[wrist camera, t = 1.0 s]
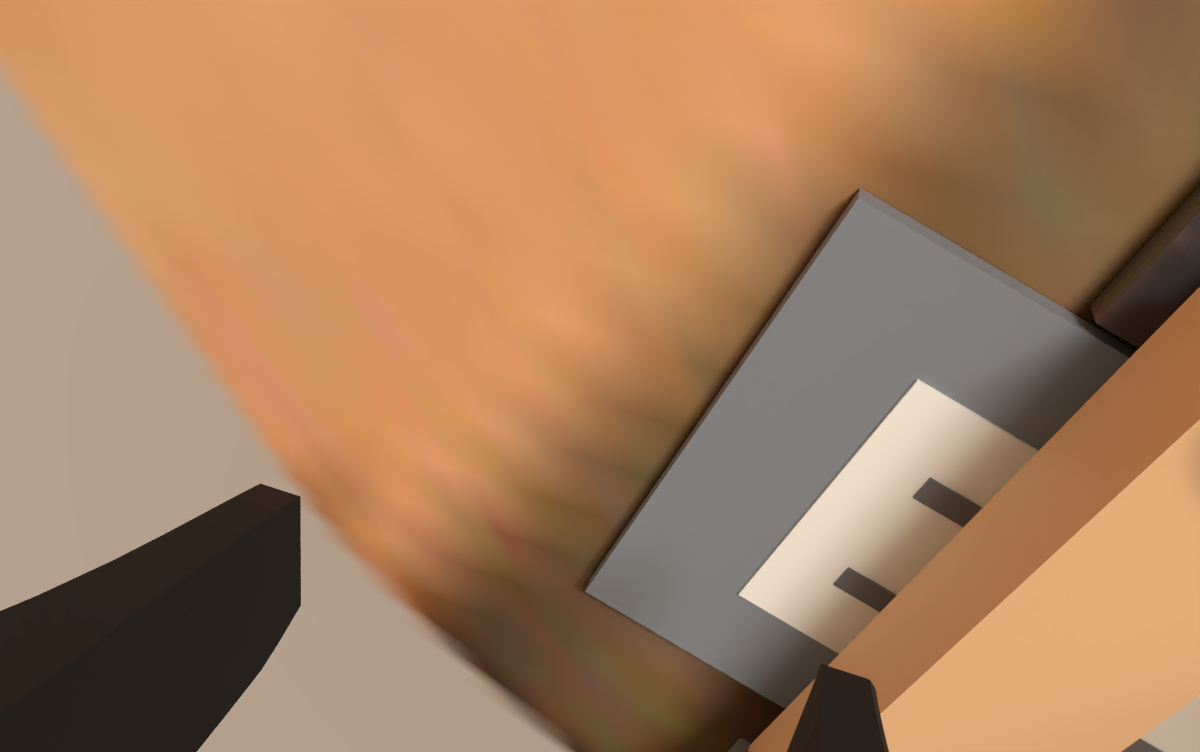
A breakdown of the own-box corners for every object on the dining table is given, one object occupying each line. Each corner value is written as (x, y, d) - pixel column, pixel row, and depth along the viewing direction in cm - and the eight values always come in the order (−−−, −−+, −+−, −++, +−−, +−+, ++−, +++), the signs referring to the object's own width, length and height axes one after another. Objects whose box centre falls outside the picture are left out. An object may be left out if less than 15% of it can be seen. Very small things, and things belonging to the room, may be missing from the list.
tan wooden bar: (1259, 168, 16) (1380, 298, 12) (1473, 295, 16) (1671, 469, 12) (706, 753, 26) (663, 938, 22) (838, 831, 26) (822, 1031, 22)
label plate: (1676, 669, 19) (1703, 700, 18) (1199, 932, 25) (1206, 961, 25) (860, 187, 19) (857, 201, 18) (591, 576, 25) (583, 595, 25)
